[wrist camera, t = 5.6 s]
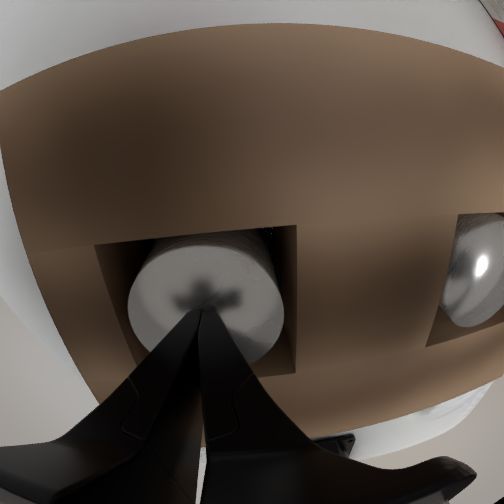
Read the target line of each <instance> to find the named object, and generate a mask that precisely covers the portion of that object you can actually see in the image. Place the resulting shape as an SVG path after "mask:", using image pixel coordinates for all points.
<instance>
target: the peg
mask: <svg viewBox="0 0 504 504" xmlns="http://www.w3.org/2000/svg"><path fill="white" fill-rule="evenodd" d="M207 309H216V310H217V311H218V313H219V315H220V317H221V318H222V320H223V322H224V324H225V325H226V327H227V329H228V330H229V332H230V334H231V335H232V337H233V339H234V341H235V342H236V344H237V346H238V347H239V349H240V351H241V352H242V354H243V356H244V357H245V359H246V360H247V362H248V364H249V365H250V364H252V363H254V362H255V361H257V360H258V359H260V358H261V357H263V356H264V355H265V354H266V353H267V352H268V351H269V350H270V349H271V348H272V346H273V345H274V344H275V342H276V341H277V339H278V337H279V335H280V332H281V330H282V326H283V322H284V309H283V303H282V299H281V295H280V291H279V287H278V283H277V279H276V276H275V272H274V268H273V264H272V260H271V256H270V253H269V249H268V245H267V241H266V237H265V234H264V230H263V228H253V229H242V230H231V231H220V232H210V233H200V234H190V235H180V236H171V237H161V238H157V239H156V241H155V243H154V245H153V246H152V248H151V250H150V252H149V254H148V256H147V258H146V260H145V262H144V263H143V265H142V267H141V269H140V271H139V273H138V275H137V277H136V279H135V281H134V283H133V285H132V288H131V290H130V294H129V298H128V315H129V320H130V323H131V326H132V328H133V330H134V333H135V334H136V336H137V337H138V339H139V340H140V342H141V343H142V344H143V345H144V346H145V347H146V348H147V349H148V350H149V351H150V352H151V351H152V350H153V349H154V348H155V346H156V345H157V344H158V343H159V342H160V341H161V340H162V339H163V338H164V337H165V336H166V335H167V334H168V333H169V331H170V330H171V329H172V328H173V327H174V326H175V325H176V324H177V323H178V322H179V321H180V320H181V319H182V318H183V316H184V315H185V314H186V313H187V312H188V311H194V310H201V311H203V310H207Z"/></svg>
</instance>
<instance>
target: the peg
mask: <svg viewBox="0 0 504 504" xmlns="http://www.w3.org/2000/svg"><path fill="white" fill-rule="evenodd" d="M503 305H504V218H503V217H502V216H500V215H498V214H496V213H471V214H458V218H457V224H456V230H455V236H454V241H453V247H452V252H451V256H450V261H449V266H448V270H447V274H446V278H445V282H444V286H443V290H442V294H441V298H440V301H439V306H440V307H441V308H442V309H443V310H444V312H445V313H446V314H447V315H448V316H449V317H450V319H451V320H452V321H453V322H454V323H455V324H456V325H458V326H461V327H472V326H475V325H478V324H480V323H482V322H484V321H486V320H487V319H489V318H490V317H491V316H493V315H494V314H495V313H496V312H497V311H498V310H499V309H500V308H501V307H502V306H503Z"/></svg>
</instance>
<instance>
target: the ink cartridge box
mask: <svg viewBox="0 0 504 504" xmlns="http://www.w3.org/2000/svg"><path fill="white" fill-rule="evenodd" d="M480 1H481V2H482V4H483V5H484V7H485V8H486V9H487V11H488V12H489V14H490V15H491V17H492V18H493V20H494V21H495V23H496V24H497V26H498V28H499V29H500V31H501V32H502V34H503V36H504V0H480Z"/></svg>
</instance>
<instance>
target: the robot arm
mask: <svg viewBox="0 0 504 504" xmlns="http://www.w3.org/2000/svg"><path fill="white" fill-rule="evenodd" d="M128 378H129V379H128ZM128 378H126V379H125V380H124V381H123V382H122V383H121V384H120V385H119V386H118V387H117V388H116V389H115V390H114V391H113V392H112V393H111V394H110V395H109V396H108V397H107V398H106V399H105V400H104V401H103V402H102V403H101V404H100V405H99V406H97V407H96V408H95V409H94V410H93V411H92V412H91V413H89V414H88V415H87V416H86V417H85V418H84V419H82V420H81V421H80V422H79V423H78V424H77V425H75V426H74V427H73V428H72V429H71V430H70V431H68V432H67V433H66V434H65V435H63V436H62V437H60V438H58V439H56V440H53V441H50V442H45V443H37V444H28V445H18V446H4V447H0V504H195V501H196V491H197V479H198V470H199V459H200V449H201V439H202V430H203V424H204V435H205V443H206V458H207V463H206V470H205V475H204V482H203V488H202V494H201V500H200V504H449V500H450V499H452V498H453V497H454V496H455V495H457V494H458V493H460V492H461V491H462V490H463V489H465V488H466V487H467V486H468V485H469V484H471V483H472V482H473V481H474V479H475V478H476V476H477V474H476V472H475V471H474V470H473V469H472V468H471V467H469V466H468V465H466V464H464V463H462V462H460V461H457V460H455V459H453V458H450V457H447V456H440V457H436V458H432V459H430V460H427V461H424V462H421V463H419V464H416V465H414V466H411V467H407V468H403V469H394V470H392V469H381V468H377V467H373V466H370V465H367V464H364V463H361V462H358V461H355V460H352V459H350V458H349V454H350V452H351V449H352V447H353V445H354V442H355V436H354V435H348V436H344V437H339V438H334V439H329V440H324V441H318V442H313V441H312V440H311V439H310V438H309V437H308V436H307V435H306V434H305V433H304V432H303V431H302V430H301V429H300V428H299V427H298V426H297V425H296V424H295V423H294V422H293V421H292V420H291V419H290V418H289V417H288V416H287V415H286V414H285V413H284V411H283V410H282V409H281V408H280V407H279V406H278V405H277V404H276V403H275V401H274V400H273V399H272V398H271V397H270V395H269V394H268V393H267V391H266V390H265V389H264V387H263V386H262V384H261V383H260V381H259V380H258V378H257V376H256V375H255V374H254V372H253V370H252V369H251V367H250V365H249V364H248V362H247V360H246V359H245V357H244V356H243V354H242V352H241V351H240V349H239V347H238V346H237V344H236V342H235V341H234V339H233V337H232V335H231V334H230V332H229V330H228V329H227V327H226V325H225V324H224V322H223V320H222V318H221V317H220V315H219V313H218V311H217V310H216V309H207V310H203V311H201V310H194V311H188V312H187V313H186V314H185V315H184V316H183V318H182V319H181V320H180V321H179V322H178V323H177V324H176V325H175V326H174V327H173V328H172V329H171V330H170V331H169V333H168V334H167V335H166V336H165V337H164V338H163V339H162V340H161V341H160V342H159V343H158V344H157V345H156V346H155V348H154V349H153V350H152V351H151V352H150V353H149V354H148V355H147V356H146V357H145V358H144V359H143V360H142V362H141V363H140V364H139V365H138V366H137V367H136V368H135V369H134V370H133V371H132V372H131V373H130V374H129V376H128ZM494 504H504V497H503V498H501V499H500V500H498V501H497V502H495V503H494Z"/></svg>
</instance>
